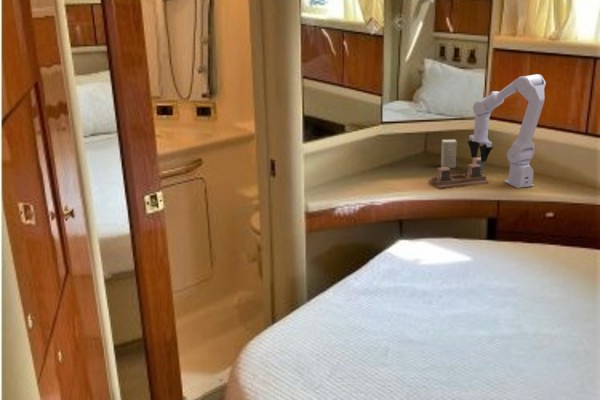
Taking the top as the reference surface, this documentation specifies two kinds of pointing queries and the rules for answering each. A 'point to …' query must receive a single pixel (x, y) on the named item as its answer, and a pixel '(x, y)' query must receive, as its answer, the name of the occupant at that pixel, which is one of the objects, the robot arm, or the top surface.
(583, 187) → the top surface
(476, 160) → the rose block
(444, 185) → the walnut rack
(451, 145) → the skincare box
